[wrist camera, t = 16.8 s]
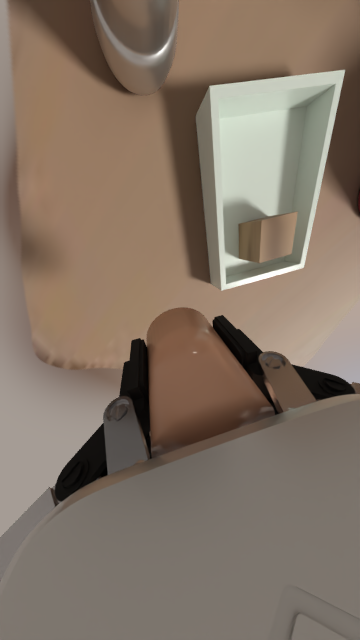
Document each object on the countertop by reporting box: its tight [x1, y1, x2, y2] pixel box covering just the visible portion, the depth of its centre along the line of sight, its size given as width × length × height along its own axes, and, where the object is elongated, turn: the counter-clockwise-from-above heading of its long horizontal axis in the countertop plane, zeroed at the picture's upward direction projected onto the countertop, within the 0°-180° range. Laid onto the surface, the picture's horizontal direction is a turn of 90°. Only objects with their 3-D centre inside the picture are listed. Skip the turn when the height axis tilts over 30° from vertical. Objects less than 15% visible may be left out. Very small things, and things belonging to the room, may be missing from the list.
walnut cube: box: [238, 212, 298, 263], centre depth 22 cm, size 5×5×5 cm
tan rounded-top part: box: [147, 308, 275, 458], centre depth 9 cm, size 5×5×7 cm
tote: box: [196, 70, 345, 291], centre depth 21 cm, size 15×20×4 cm
